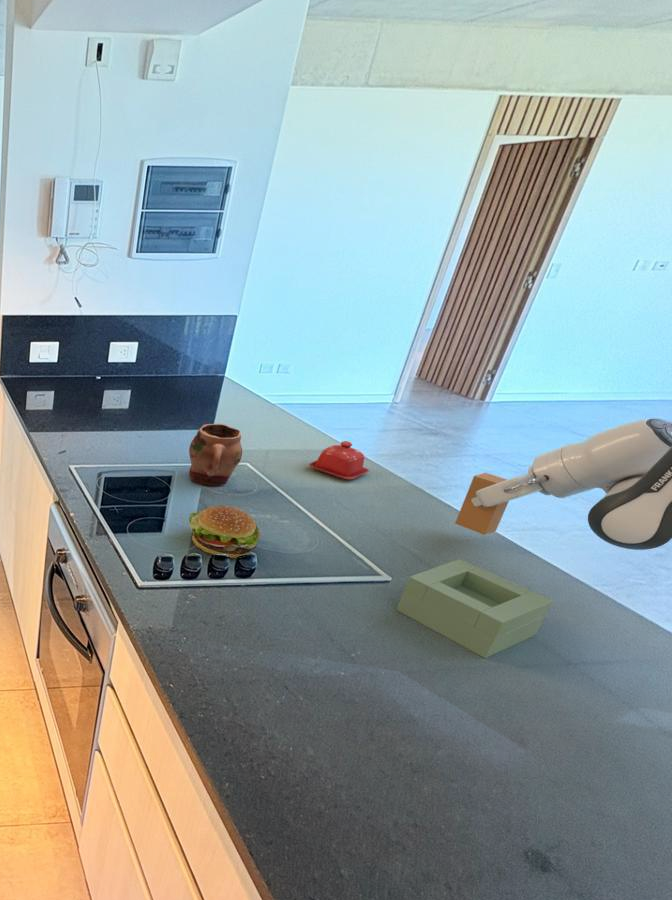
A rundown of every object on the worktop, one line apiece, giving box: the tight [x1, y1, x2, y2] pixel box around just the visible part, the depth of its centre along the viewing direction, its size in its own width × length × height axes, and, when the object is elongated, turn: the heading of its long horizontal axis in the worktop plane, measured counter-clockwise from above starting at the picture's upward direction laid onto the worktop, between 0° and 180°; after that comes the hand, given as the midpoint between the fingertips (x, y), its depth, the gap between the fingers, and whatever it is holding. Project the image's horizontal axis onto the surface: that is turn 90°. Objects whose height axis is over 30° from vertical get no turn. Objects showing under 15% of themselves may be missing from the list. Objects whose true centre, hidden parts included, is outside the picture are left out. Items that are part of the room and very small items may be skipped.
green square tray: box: [396, 558, 554, 659], centre depth 103 cm, size 14×14×7 cm
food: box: [188, 505, 261, 559], centre depth 126 cm, size 14×14×8 cm
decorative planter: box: [188, 423, 243, 487], centre depth 154 cm, size 20×12×14 cm, turn 165°
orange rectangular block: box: [454, 472, 510, 536], centre depth 126 cm, size 4×6×11 cm
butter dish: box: [308, 440, 371, 481], centre depth 161 cm, size 12×12×8 cm
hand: (482, 500), depth 126 cm, fingers closed on orange rectangular block, 4 cm apart
